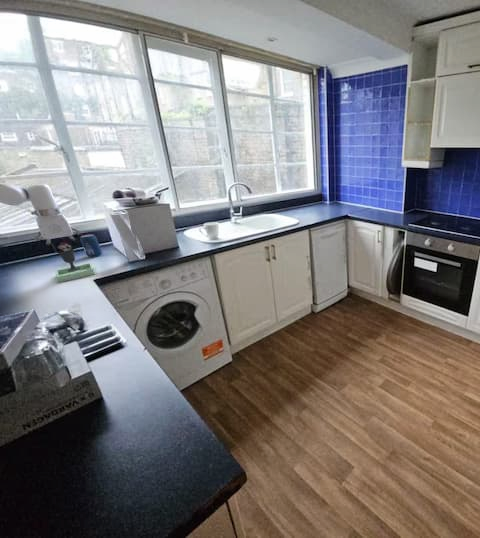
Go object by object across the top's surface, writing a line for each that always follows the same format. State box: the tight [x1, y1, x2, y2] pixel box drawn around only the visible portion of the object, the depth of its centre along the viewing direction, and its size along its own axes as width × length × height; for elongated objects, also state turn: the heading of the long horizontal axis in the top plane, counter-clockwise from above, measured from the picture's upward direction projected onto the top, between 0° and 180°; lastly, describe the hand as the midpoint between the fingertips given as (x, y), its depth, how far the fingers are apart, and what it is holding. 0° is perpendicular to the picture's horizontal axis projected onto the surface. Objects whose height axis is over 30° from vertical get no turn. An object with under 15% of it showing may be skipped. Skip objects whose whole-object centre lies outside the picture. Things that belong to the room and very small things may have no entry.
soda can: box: [80, 233, 103, 258], centre depth 167 cm, size 7×7×12 cm
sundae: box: [55, 238, 80, 271], centre depth 140 cm, size 7×7×15 cm
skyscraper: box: [109, 208, 146, 263], centre depth 156 cm, size 8×8×28 cm
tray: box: [55, 262, 95, 283], centre depth 143 cm, size 13×12×3 cm
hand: (65, 249), depth 139 cm, fingers closed on sundae, 6 cm apart
